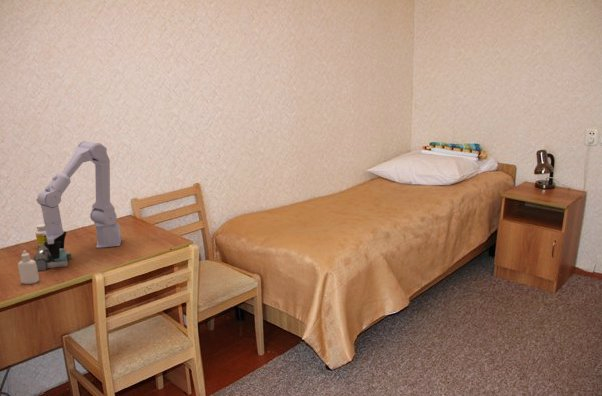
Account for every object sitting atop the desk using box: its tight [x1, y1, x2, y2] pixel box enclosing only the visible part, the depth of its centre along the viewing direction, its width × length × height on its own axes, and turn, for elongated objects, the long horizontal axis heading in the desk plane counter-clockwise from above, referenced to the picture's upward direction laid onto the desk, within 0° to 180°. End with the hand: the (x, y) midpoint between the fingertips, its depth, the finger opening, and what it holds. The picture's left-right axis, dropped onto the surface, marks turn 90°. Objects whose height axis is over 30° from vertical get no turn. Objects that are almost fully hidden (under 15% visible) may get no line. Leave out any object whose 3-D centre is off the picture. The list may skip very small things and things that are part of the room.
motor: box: [32, 244, 73, 272], centre depth 180 cm, size 11×12×6 cm
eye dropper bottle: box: [17, 250, 40, 285], centre depth 164 cm, size 4×6×12 cm
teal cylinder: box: [52, 247, 68, 262], centre depth 181 cm, size 5×5×6 cm
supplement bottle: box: [35, 223, 47, 250], centre depth 195 cm, size 5×5×10 cm
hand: (58, 254), depth 180 cm, fingers open, 7 cm apart
